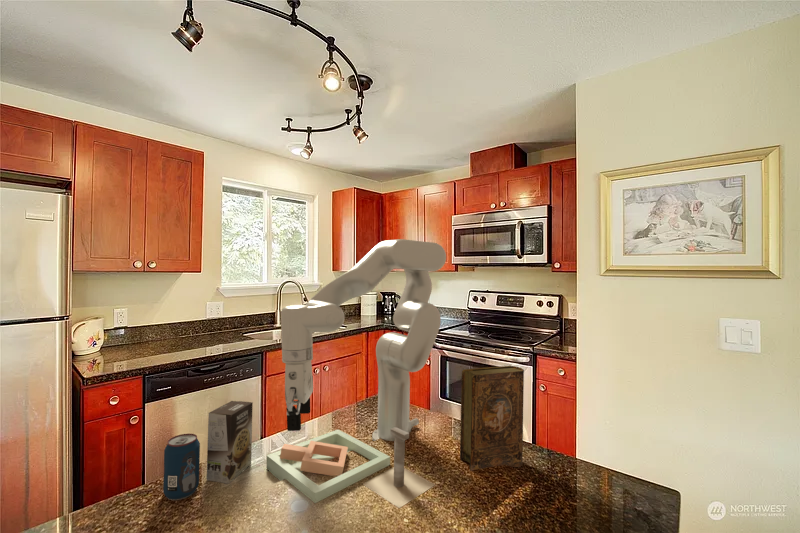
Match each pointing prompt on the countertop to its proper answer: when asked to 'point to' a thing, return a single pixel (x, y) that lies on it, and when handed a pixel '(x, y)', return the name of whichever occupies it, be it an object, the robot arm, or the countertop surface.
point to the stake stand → (398, 477)
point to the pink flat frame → (315, 464)
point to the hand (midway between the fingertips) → (299, 421)
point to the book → (492, 416)
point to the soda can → (181, 466)
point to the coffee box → (229, 441)
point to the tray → (318, 492)
